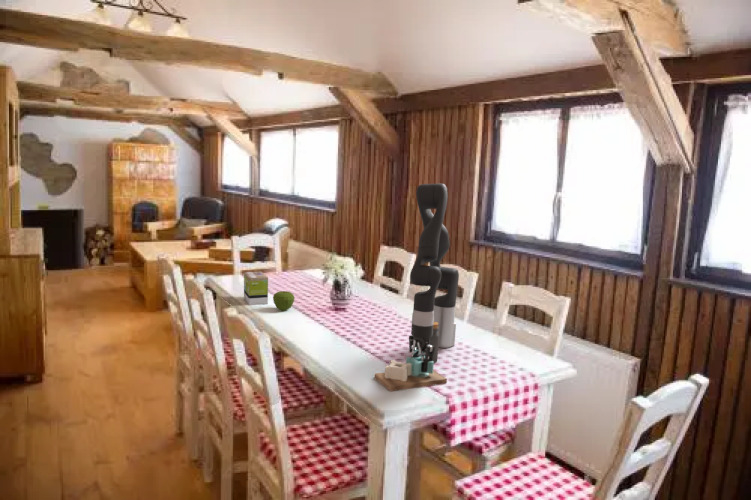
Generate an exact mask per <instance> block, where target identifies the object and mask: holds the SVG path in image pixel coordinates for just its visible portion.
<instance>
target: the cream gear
mask: <svg viewBox="0 0 751 500" xmlns="http://www.w3.org/2000/svg"><path fill="white" fill-rule="evenodd" d="M397 365H400V366H401V367H398V366H397ZM411 369H412V364H411V363H406V362H399V361H396V360H393V359H392V360H390V363H389V365H385V366H384V372H385V378H386V379H388V378H393V379H398V380H401V381H403V382H404V381H406V380H407V376H409V375H411Z"/></svg>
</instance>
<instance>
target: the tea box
mask: <svg viewBox="0 0 751 500" xmlns="http://www.w3.org/2000/svg"><path fill="white" fill-rule="evenodd" d="M243 299H244V300H245V301H246V302H247V304H248V306H257V305H260V306H261V305H268V303H269V277H268V276H267V275H266V274H265V273H264V272H263V271H244V272H243Z"/></svg>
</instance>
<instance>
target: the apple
mask: <svg viewBox="0 0 751 500" xmlns="http://www.w3.org/2000/svg"><path fill="white" fill-rule="evenodd" d="M272 298H273V303H274V305H275V308H276V309H277V310H278V311H280V312H284V311H285V312H286V311H287V310H289V309H291V308H292V306H293V305H294V303H295V295H294V294H293V293H292V292H290V291H288V290H286V291H285V290H283V291H282V290H281V291H277V292H275V293H274V294H273V296H272Z"/></svg>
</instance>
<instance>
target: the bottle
mask: <svg viewBox="0 0 751 500" xmlns="http://www.w3.org/2000/svg"><path fill="white" fill-rule="evenodd" d="M438 330H439V328H438V323H437V322H434V323H433V335H432V337H430V339H429V341H430V345H431V346H434V347H435V348H434V354H433V359H432V361H434V363H437V362H438V356H439V347H438V345H439V334H438V333H437V331H438ZM423 353H426V351H424V352H423ZM424 356H425V355H424ZM429 358H430V356H429Z"/></svg>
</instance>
